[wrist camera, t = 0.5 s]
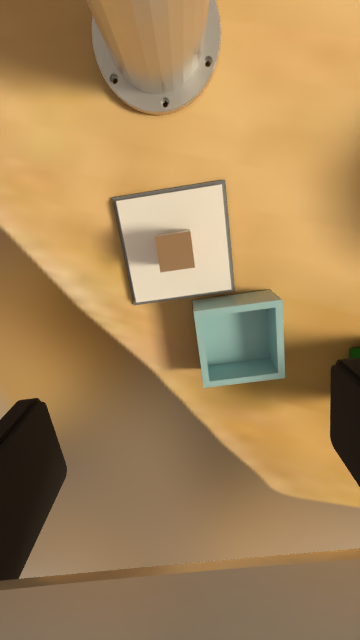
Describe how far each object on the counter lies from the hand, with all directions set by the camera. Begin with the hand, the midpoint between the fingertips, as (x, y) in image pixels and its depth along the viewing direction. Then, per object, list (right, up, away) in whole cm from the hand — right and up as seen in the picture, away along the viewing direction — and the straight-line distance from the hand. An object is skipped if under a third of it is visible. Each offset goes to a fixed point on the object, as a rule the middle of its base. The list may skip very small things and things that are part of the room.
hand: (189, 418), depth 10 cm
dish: (+7, +2, +30) cm, 31 cm away
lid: (-1, +12, +26) cm, 29 cm away
